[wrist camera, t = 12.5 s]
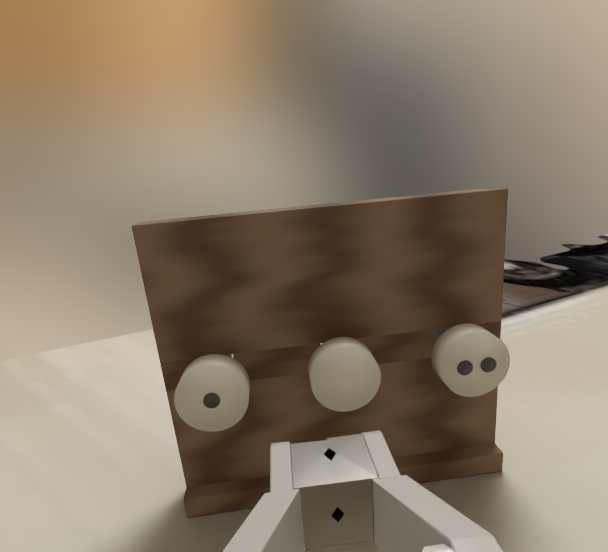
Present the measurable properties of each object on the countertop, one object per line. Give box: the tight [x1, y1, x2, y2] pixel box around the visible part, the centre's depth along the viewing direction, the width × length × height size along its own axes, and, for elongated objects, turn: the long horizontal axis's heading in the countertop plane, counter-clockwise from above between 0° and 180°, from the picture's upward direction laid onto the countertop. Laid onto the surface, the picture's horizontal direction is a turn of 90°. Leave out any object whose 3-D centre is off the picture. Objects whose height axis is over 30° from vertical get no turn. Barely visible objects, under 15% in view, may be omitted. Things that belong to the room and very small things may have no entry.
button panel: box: [132, 188, 508, 518], centre depth 27 cm, size 22×8×20 cm, turn 95°
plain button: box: [308, 337, 381, 412], centre depth 23 cm, size 4×6×4 cm
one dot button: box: [174, 354, 250, 432], centre depth 23 cm, size 4×6×4 cm
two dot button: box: [431, 323, 510, 397], centre depth 24 cm, size 4×6×4 cm
